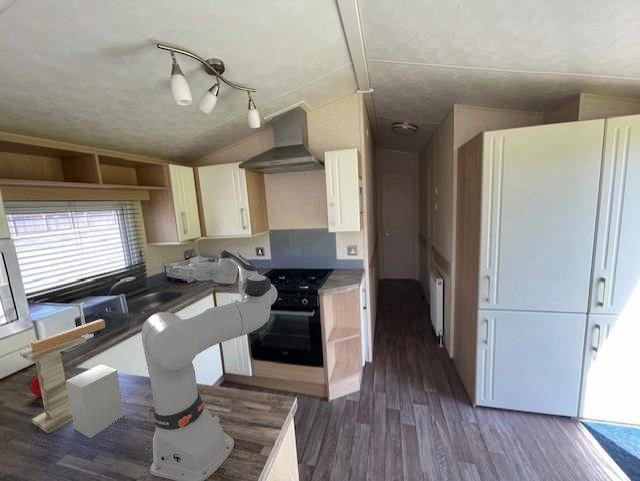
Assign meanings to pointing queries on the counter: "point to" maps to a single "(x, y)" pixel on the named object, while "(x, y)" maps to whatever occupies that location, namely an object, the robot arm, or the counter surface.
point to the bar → (67, 335)
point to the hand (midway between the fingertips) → (173, 271)
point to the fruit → (36, 387)
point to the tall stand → (52, 385)
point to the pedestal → (95, 399)
